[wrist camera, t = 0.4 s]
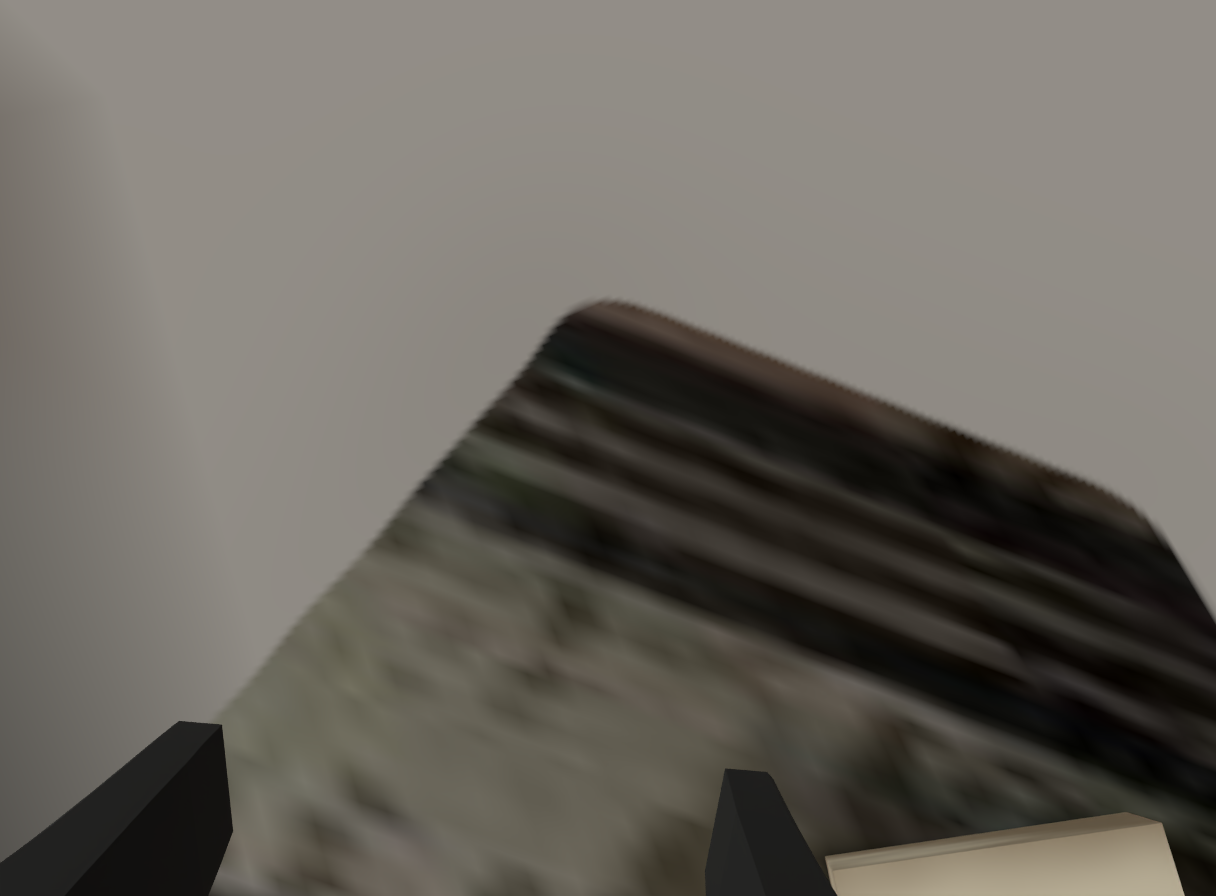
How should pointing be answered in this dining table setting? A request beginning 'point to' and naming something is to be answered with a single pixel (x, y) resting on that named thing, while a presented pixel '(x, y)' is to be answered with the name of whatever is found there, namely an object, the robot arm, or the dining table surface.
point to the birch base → (1020, 863)
